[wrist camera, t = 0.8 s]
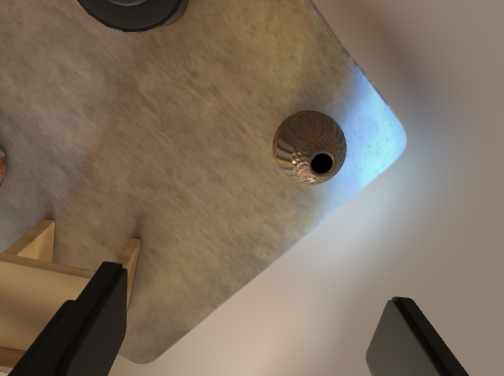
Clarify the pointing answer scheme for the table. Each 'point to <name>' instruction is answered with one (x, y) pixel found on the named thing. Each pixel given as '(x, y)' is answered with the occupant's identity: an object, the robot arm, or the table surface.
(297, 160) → the vase
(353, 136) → the table surface
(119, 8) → the coffee cup
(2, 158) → the brown rock
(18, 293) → the shelf
